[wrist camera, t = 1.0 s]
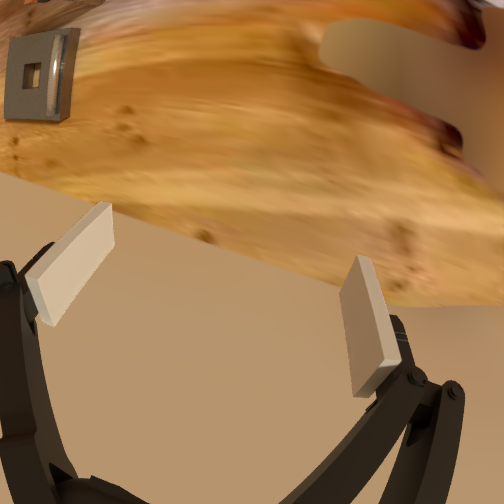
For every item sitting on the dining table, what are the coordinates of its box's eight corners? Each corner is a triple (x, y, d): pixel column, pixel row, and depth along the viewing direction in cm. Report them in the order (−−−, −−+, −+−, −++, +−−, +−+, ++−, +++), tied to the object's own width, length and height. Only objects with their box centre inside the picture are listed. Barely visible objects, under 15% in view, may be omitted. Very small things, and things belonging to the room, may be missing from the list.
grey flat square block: (20, 38, 27) (3, 39, 24) (80, 28, 28) (63, 27, 25) (13, 115, 35) (-3, 121, 32) (69, 117, 36) (52, 123, 32)
